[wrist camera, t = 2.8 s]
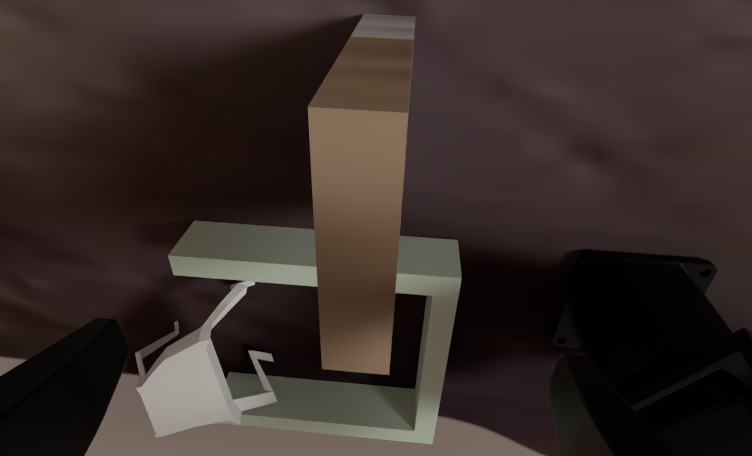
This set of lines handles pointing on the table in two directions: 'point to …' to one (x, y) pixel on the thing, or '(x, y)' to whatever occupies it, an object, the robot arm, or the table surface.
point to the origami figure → (196, 378)
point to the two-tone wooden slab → (360, 191)
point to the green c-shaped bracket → (298, 267)
